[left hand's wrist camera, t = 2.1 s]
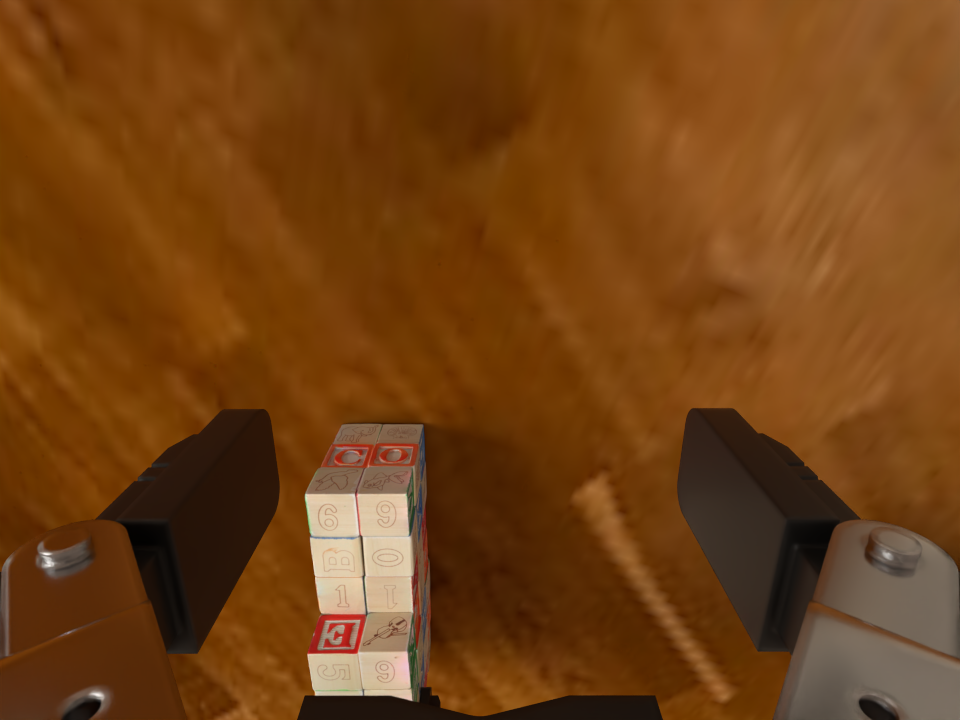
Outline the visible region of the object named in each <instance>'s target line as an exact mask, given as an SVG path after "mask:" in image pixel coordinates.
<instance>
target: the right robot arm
mask: <svg viewBox="0 0 960 720" xmlns="http://www.w3.org/2000/svg"><path fill="white" fill-rule="evenodd" d="M420 703H423V704H427V705H431V706H435V707H439V708H440V700H439V697H438V696H432V689H431V687H421V694H420Z"/></svg>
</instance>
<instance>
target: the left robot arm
mask: <svg viewBox="0 0 960 720" xmlns="http://www.w3.org/2000/svg"><path fill="white" fill-rule="evenodd" d="M677 489H678V500H679V505H680V508H681V511H682V513H683V515H684V517H685V519H686V521H687V523H688V525H689V526H690V528H691V530H692V532H693V534H694V535H695V537H696V539H697V541H698V543H699V545H700V546H701V548H702V550H703V552H704V554H705V556H706V557H707V559H708V561H709V563H710V565H711V567H712V568H713V570H714V572H715V574H716V576H717V578H718V579H719V581H720V583H721V585H722V587H723V588H724V590H725V592H726V594H727V596H728V598H729V599H730V601H731V603H732V605H733V607H734V609H735V610H736V612H737V614H738V616H739V618H740V620H741V621H742V623H743V625H744V627H745V629H746V631H747V632H748V634H749V636H750V638H751V640H752V641H753V643H754V645H755V647H756V649H757V651H789V652H790V653H791V655H792V658H791V662H790V665H789V668H788V671H787V675H786V678H785V681H784V684H783V687H782V691H781V694H780V697H779V700H778V704H777V707H776V710H775V713H774V717H773V720H960V571H958V568H957V566H956V564H955V562H954V561H953V559H952V558H951V557H950V556H949V555H948V554H947V553H946V552H945V551H944V550H943V549H941V548H940V547H939V546H937V545H936V544H935V543H933V542H931V541H930V540H928V539H926V538H925V537H923V536H921V535H919V534H917V533H914V532H912V531H910V530H907V529H905V528H902V527H899V526H896V525H892V524H889V523H885V522H880V521H873V520H861V519H860V518H859V517H858V516H857V515H856V514H855V513H854V512H853V511H852V510H851V509H850V508H849V507H848V506H847V505H846V504H845V503H844V502H843V501H842V500H841V499H840V498H839V497H838V496H837V495H836V494H835V493H834V492H833V491H832V490H831V489H830V488H829V487H828V486H827V485H826V484H825V483H824V482H823V481H822V480H818V476H817V475H816V474H815V473H814V472H813V471H812V470H811V469H810V468H809V467H808V466H804V462H803V461H801V460H800V459H799V458H798V457H797V456H796V455H795V454H794V453H793V452H792V451H791V450H790V449H789V448H788V447H787V446H785V445H783V444H781V443H779V442H778V441H776V440H774V439H772V438H770V437H768V436H767V435H765V434H758V433H757V432H756V431H755V430H754V429H753V428H752V427H751V426H750V425H749V424H748V423H747V422H746V421H745V419H744V418H743V417H742V416H741V415H740V414H739V413H738V412H737V411H736V410H735V409H732V408H693V409H691V410H690V411H689V413H688V415H687V418H686V423H685V431H684V438H683V445H682V453H681V460H680V467H679V474H678V484H677ZM279 490H280V486H279V476H278V468H277V461H276V454H275V447H274V440H273V433H272V426H271V420H270V416H269V414H268V412H267V411H266V410H264V409H224V410H222V411H221V412H220V413H219V414H218V415H217V416H216V417H215V418H214V419H213V420H212V421H211V422H210V423H209V424H208V425H207V426H206V427H205V428H204V429H203V430H202V431H201V432H200V433H199V434H193V435H192V436H190V437H188V438H186V439H184V440H182V441H180V442H179V443H177V444H175V445H173V446H171V447H169V448H168V449H167V450H166V451H165V452H164V453H163V454H162V455H161V456H160V457H159V458H158V459H157V460H156V461H155V462H154V463H153V464H152V467H151V468H147V469H146V470H145V471H144V472H143V473H142V474H141V475H140V476H139V477H138V481H134V482H133V483H132V484H131V485H130V486H129V487H128V488H127V489H126V490H125V491H124V492H123V493H122V494H121V495H120V496H119V497H118V498H117V499H116V500H115V501H114V502H113V503H112V504H111V505H110V506H109V507H107V508H106V509H105V510H104V511H103V512H102V513H101V514H100V515H99V516H98V517H97V518H96V519H95V520H87V521H80V522H75V523H71V524H68V525H64V526H61V527H58V528H55V529H53V530H50V531H48V532H46V533H43V534H41V535H39V536H37V537H35V538H34V539H32V540H30V541H29V542H27V543H25V544H24V545H23V546H21V547H20V548H19V549H17V550H16V551H15V552H14V553H13V554H12V555H11V556H10V557H9V558H8V559H7V561H6V562H5V564H4V566H3V568H2V572H0V720H187V717H186V713H185V710H184V707H183V704H182V700H181V697H180V694H179V691H178V687H177V684H176V681H175V678H174V675H173V671H172V668H171V665H170V662H169V658H168V655H167V654H197V653H198V652H199V650H200V648H201V646H202V644H203V643H204V641H205V639H206V637H207V635H208V634H209V632H210V630H211V628H212V626H213V625H214V623H215V621H216V619H217V617H218V616H219V614H220V612H221V610H222V608H223V607H224V605H225V603H226V601H227V599H228V598H229V596H230V594H231V592H232V590H233V588H234V587H235V585H236V583H237V581H238V579H239V578H240V576H241V574H242V572H243V570H244V569H245V567H246V565H247V563H248V561H249V560H250V558H251V556H252V554H253V552H254V551H255V549H256V547H257V545H258V543H259V542H260V540H261V538H262V536H263V534H264V533H265V531H266V529H267V527H268V525H269V523H270V522H271V520H272V518H273V516H274V514H275V512H276V509H277V505H278V500H279ZM297 720H663V719H662V716H661V713H660V709H659V706H658V703H657V700H656V697H655V696H565V697H561V698H557V699H553V700H549V701H545V702H541V703H537V704H533V705H529V706H525V707H521V708H517V709H513V710H509V711H505V712H501V713H497V714H493V715H488V716H472V715H467V714H463V713H459V712H455V711H451V710H447V709H443V708H439V707H435V706H431V705H427V704H423V703H419V702H415V701H411V700H407V699H403V698H399V697H395V696H305V697H304V700H303V703H302V706H301V709H300V713H299V716H298V719H297Z"/></svg>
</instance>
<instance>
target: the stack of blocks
mask: <svg viewBox="0 0 960 720" xmlns="http://www.w3.org/2000/svg"><path fill="white" fill-rule="evenodd" d="M426 496H427V485H426V462H425V442H424V425H423V424H384V425H383V424H344V425H342V426H341V428H340V430H339V432H338V434H337V436H336V438H335V440H334V443H333V444H332V445H331V446H330V449H329V451H328V453H327V455H326V457H325V459H324V461H323V463H322V465H321V468H319V469H318V470H317V471H316V473H315V475H314V477H313V479H312V481H311V483H310V485H309V487H308V489H307V491H306V493H305V501H306V508H307V515H308V523H309V529H310V533H311V537H310V543H311V551H312V558H313V564H314V573H315V583H316V590H317V596H318V603H319V609H320V611H321V615H320V617H319V620H318V622H317V626H316V629H315V632H314V635H313V638H312V641H311V644H310V647H309V650H308V661H309V667H310V673H311V680H312V686H313V689H314V690H315V696H395V697H399V698H403V699H407V700H411V701H415V702H419V703H420V694H421V687H426V683H427V672H428V671H429V660H430V644H431V638H430V620H431V601H430V561H429V559H428V547H427V528H426V508H425V502H426Z"/></svg>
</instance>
